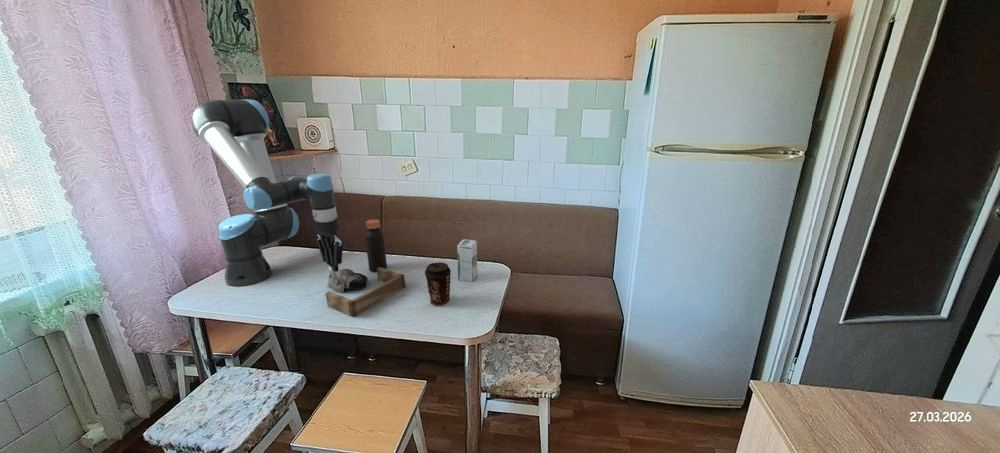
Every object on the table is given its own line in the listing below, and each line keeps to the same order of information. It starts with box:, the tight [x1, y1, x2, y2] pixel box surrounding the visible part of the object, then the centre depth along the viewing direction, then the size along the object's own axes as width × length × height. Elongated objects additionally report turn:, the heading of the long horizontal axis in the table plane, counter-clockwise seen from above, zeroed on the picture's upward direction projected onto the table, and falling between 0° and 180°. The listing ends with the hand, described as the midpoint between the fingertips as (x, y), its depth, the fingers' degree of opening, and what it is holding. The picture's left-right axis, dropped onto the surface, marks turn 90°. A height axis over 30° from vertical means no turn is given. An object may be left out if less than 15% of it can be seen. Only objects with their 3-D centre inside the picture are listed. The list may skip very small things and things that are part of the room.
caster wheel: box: [327, 268, 369, 294], centre depth 142 cm, size 7×11×10 cm
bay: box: [325, 267, 407, 318], centre depth 135 cm, size 12×23×5 cm, turn 149°
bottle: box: [364, 219, 388, 274], centre depth 153 cm, size 7×7×20 cm
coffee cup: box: [424, 261, 451, 308], centre depth 130 cm, size 9×8×13 cm
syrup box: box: [456, 239, 478, 283], centre depth 146 cm, size 6×6×14 cm
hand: (335, 280), depth 144 cm, fingers closed
